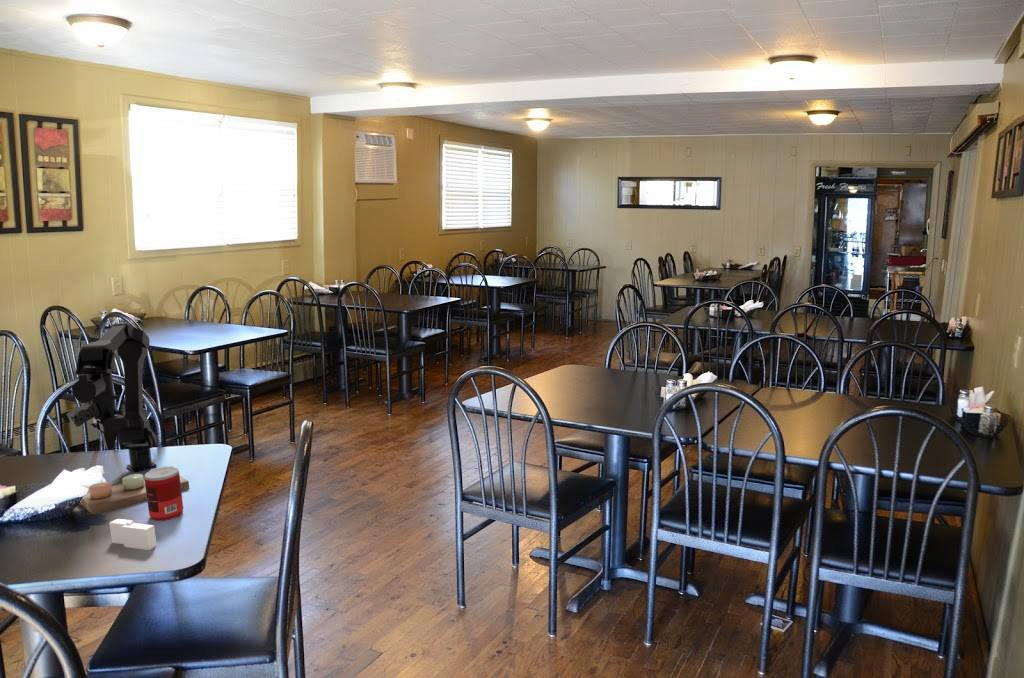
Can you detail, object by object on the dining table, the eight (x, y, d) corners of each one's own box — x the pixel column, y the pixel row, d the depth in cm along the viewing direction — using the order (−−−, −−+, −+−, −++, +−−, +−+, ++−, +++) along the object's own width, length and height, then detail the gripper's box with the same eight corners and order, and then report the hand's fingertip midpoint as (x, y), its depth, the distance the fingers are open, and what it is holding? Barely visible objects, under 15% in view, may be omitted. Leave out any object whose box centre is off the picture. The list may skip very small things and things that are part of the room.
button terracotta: (88, 496, 208) (86, 485, 207) (108, 490, 211) (107, 480, 210) (93, 501, 204) (92, 490, 204) (114, 495, 207) (113, 485, 207)
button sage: (120, 487, 213) (119, 477, 212) (140, 482, 216) (139, 472, 216) (127, 492, 209) (125, 482, 209) (147, 487, 213) (145, 477, 212)
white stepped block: (168, 549, 181) (165, 525, 180) (112, 564, 175) (108, 539, 174) (155, 527, 193) (152, 505, 192) (103, 540, 187) (99, 517, 186)
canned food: (189, 508, 203) (184, 466, 201) (173, 521, 195) (168, 478, 193) (160, 508, 204) (155, 466, 202) (143, 521, 196) (137, 478, 194)
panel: (78, 502, 210) (77, 495, 209) (172, 477, 225) (171, 470, 225) (92, 514, 201) (91, 507, 201) (189, 488, 217) (188, 481, 216)
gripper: (57, 392, 212) (66, 449, 215) (78, 404, 198) (87, 465, 201) (103, 384, 219) (110, 439, 222) (126, 395, 206) (133, 454, 209)
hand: (109, 449), depth 213 cm, fingers closed
